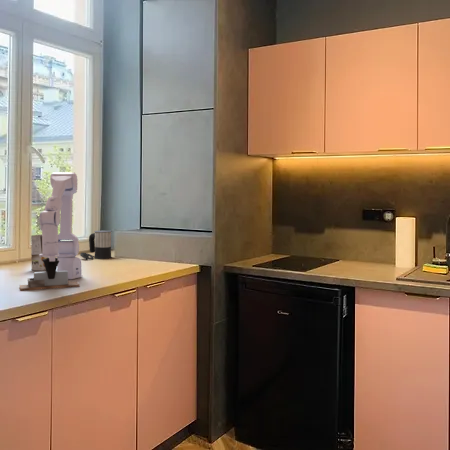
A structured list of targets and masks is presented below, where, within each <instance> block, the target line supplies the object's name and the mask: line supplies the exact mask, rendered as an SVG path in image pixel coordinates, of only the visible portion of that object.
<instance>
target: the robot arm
mask: <svg viewBox="0 0 450 450" xmlns="http://www.w3.org/2000/svg"><path fill="white" fill-rule="evenodd" d="M77 175H78V174H76V172H55V171H53V172H52V173H51V174H50V179H49V180H50V181H49V182H50V185H51V188H52V191H51V196H49V197H48V198H47V200H46V204H45V206H44V210H42V211H41V212H40V213H39V217H38V219H39V225H40V226H39V227H40V231H41V235H42V254H39V256H42V257H47V259H42V260H43V262H44V265H45V268H46V270H45V272H47V275H48V279H54V278H55V273H56V271H68V280H74V279H79V278H82V277H84V276H83V275H82V273H83V272H82V260H81V258H79V257H77V256H78V255H79V254H80V253H79V252H80V244H79V238H78V236H76V235H75V234H73V233H72V231H73V197H74V194H76V193H77V192H78V176H77Z"/></svg>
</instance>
